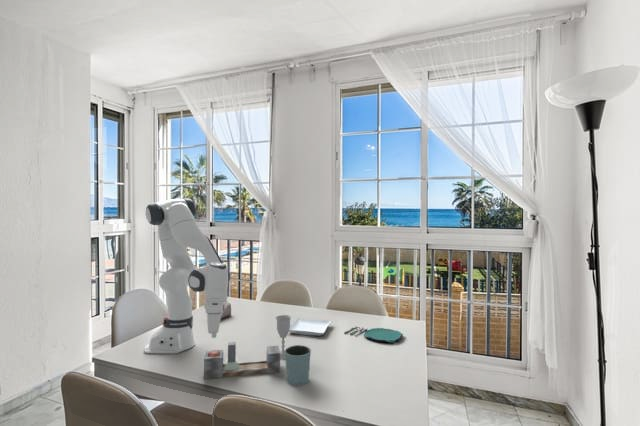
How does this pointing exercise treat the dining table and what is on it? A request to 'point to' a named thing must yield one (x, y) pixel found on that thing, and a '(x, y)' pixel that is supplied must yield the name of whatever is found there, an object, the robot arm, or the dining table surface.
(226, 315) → the food item
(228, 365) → the carriage
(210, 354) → the button
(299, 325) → the salad plate
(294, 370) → the blue-grey cup
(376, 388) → the dining table surface
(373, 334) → the cutlery set
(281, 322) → the chalice
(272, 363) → the rail
